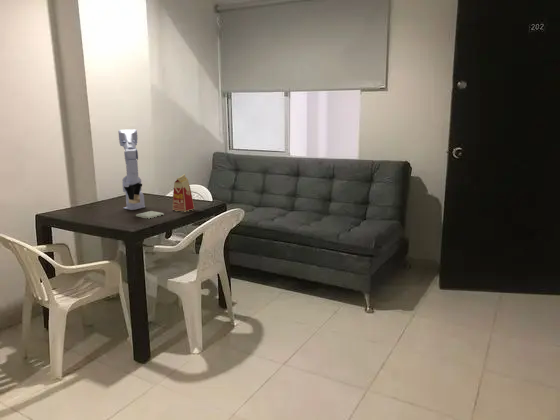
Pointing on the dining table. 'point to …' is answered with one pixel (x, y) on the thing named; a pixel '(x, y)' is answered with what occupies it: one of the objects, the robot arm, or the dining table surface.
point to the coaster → (149, 214)
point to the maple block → (135, 199)
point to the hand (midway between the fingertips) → (134, 198)
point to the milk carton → (182, 195)
